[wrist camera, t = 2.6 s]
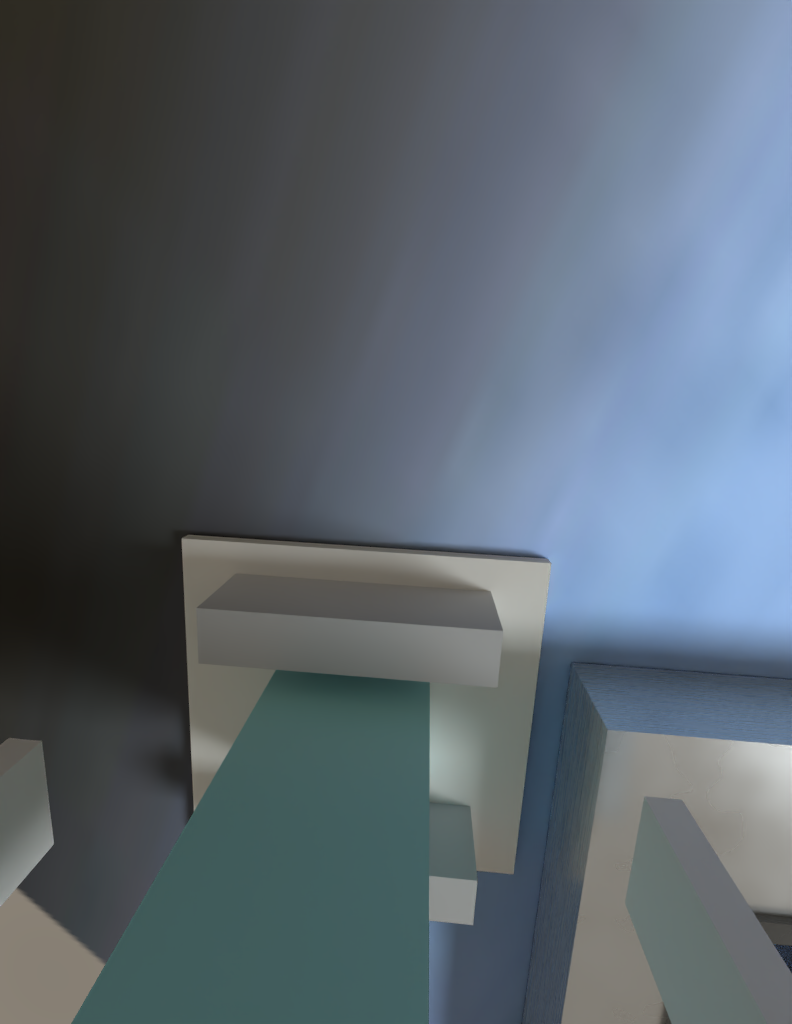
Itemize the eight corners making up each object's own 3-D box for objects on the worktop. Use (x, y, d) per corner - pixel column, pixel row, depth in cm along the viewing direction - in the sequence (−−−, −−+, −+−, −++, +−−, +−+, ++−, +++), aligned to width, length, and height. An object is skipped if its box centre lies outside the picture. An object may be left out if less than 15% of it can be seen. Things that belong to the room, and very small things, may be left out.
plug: (285, 643, 14) (-376, 1744, 3) (433, 655, 14) (447, 1923, 2) (285, 771, 15) (-203, 2010, 3) (424, 784, 15) (400, 2163, 3)
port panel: (571, 662, 14) (611, 735, 11) (1023, 697, 14) (1200, 786, 10) (514, 1076, 18) (532, 1220, 15) (872, 1120, 17) (971, 1281, 14)
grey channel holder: (188, 534, 14) (130, 566, 11) (547, 558, 14) (577, 597, 11) (200, 831, 16) (154, 917, 14) (511, 862, 16) (528, 959, 13)
